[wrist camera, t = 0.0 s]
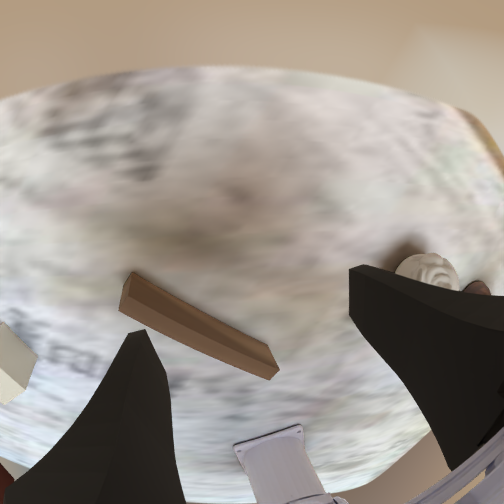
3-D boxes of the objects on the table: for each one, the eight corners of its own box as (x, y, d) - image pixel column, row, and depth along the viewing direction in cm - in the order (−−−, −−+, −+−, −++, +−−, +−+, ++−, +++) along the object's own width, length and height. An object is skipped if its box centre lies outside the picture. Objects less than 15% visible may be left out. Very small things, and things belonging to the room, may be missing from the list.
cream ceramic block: (38, 355, 19) (25, 390, 16) (16, 372, 19) (4, 405, 16) (4, 321, 17) (-15, 353, 14) (-16, 341, 17) (-33, 372, 14)
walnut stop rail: (258, 355, 24) (269, 380, 21) (123, 285, 19) (118, 310, 16) (267, 345, 24) (279, 370, 21) (132, 272, 19) (128, 295, 16)
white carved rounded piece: (380, 237, 23) (442, 275, 17) (434, 240, 25) (489, 272, 19) (361, 303, 25) (410, 352, 19) (415, 298, 27) (462, 336, 21)
